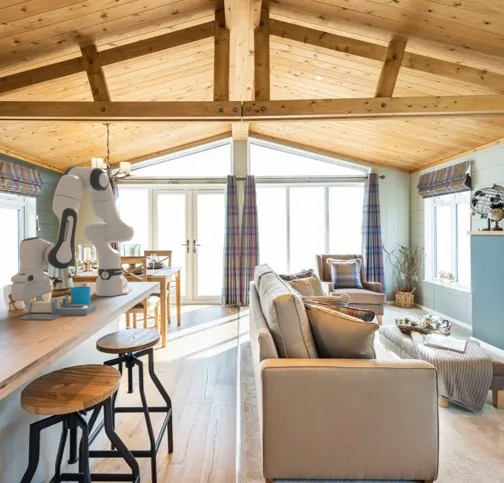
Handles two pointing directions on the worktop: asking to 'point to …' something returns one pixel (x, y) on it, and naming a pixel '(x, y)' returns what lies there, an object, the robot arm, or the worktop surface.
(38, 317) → the pad
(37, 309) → the beige rectangular block
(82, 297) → the mug
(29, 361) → the worktop surface
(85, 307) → the dispenser
